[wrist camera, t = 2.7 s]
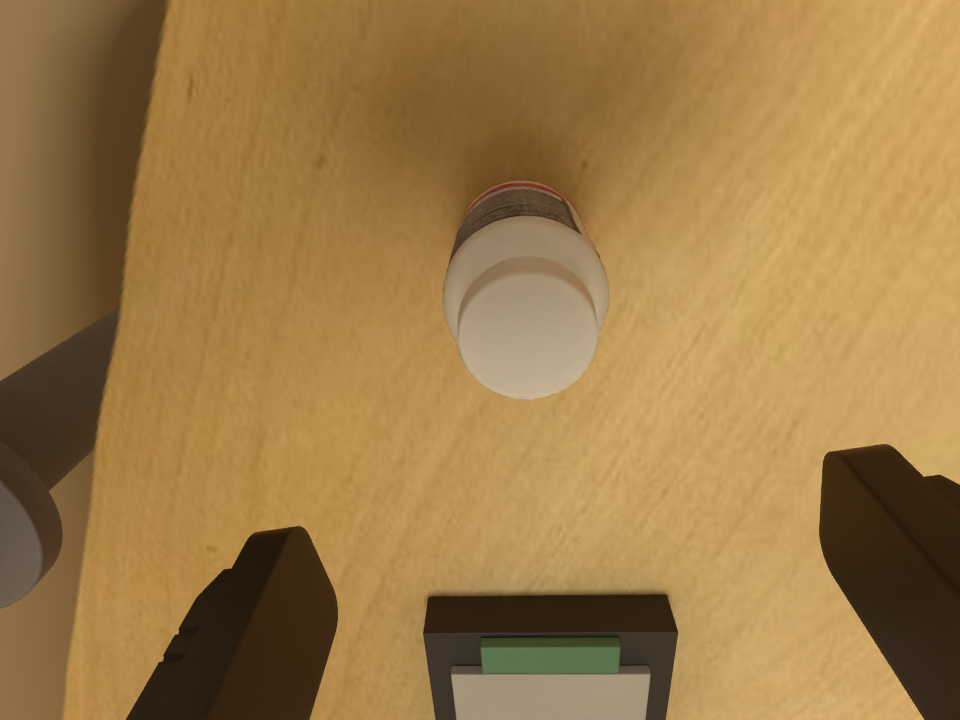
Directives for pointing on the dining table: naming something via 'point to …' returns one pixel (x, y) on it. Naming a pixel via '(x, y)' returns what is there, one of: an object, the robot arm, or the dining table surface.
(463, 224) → the pill bottle
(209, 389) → the dining table surface
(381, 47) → the dining table surface
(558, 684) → the scale
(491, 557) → the dining table surface
